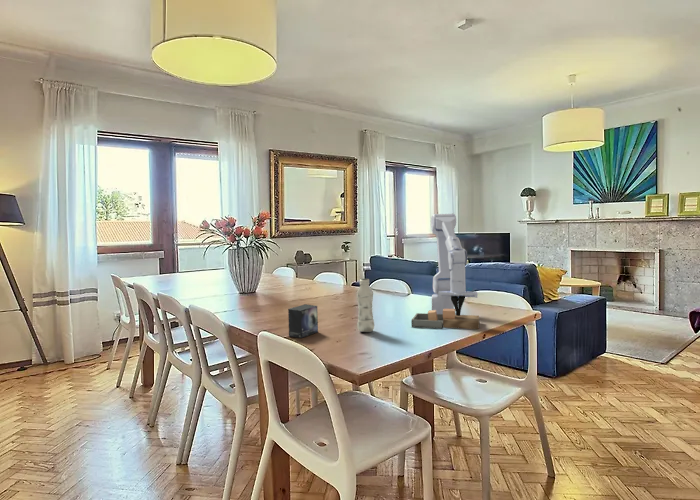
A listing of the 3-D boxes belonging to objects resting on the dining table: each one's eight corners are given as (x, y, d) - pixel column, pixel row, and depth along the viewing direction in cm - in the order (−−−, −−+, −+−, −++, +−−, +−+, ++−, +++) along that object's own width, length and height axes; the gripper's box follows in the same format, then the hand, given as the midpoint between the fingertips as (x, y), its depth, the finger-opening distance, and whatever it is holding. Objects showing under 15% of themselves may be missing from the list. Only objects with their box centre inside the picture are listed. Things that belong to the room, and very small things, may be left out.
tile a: (442, 318, 170) (442, 310, 170) (443, 315, 174) (443, 308, 174) (454, 318, 169) (454, 311, 168) (455, 316, 173) (455, 308, 173)
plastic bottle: (376, 330, 167) (375, 278, 166) (371, 334, 160) (370, 280, 159) (360, 329, 169) (359, 278, 168) (355, 333, 163) (353, 280, 161)
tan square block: (436, 323, 171) (429, 324, 172) (437, 320, 175) (430, 321, 176) (435, 312, 171) (427, 312, 172) (436, 309, 175) (428, 310, 176)
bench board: (443, 327, 168) (443, 319, 167) (445, 321, 177) (445, 314, 177) (478, 329, 164) (478, 321, 163) (479, 323, 173) (479, 315, 173)
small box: (302, 338, 158) (300, 310, 157) (288, 336, 161) (286, 308, 161) (319, 332, 167) (318, 305, 166) (305, 330, 170) (304, 303, 169)
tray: (411, 327, 170) (411, 320, 170) (416, 319, 182) (416, 313, 182) (441, 328, 166) (441, 321, 166) (444, 320, 179) (444, 314, 178)
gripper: (437, 282, 168) (438, 316, 169) (476, 282, 164) (477, 318, 164) (439, 279, 175) (440, 313, 176) (477, 279, 170) (477, 314, 171)
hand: (458, 315), depth 170 cm, fingers closed
